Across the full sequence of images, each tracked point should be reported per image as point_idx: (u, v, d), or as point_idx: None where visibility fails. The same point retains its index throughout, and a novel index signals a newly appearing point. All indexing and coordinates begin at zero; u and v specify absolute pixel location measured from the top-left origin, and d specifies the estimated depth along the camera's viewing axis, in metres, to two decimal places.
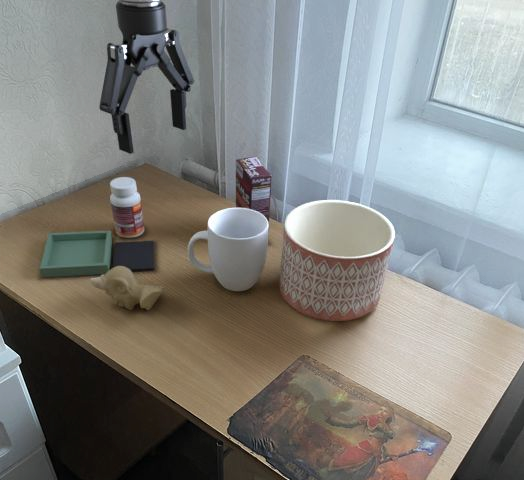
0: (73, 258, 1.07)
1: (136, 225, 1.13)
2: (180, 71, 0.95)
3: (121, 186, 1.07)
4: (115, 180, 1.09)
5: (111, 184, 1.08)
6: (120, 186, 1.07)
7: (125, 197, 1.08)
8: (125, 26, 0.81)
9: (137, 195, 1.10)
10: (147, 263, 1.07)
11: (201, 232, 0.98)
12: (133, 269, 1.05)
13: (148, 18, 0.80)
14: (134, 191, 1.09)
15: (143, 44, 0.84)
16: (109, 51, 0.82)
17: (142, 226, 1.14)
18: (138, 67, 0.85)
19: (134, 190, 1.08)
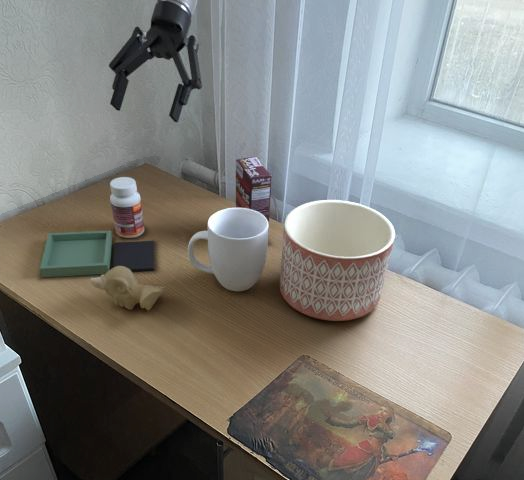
0: (73, 258, 1.07)
1: (136, 225, 1.13)
2: (123, 61, 1.10)
3: (121, 186, 1.07)
4: (115, 180, 1.09)
5: (111, 184, 1.08)
6: (120, 186, 1.07)
7: (125, 197, 1.08)
8: (186, 27, 1.07)
9: (137, 195, 1.10)
10: (147, 263, 1.07)
11: (201, 232, 0.98)
12: (133, 269, 1.05)
13: None
14: (134, 191, 1.08)
15: None
16: (194, 42, 1.05)
17: (142, 226, 1.14)
18: (180, 58, 1.09)
19: (134, 190, 1.08)
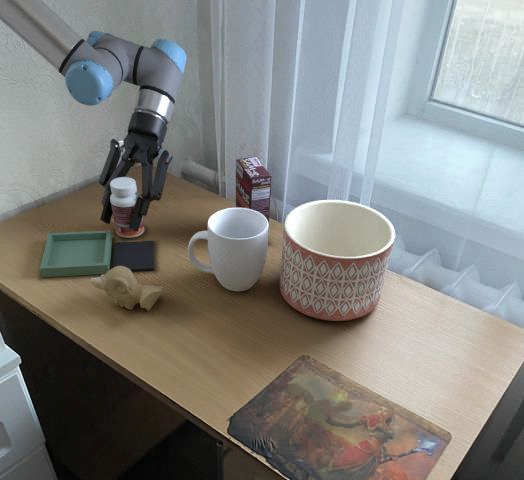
0: (73, 258, 1.07)
1: None
2: (110, 174, 1.12)
3: (121, 186, 1.07)
4: (115, 180, 1.09)
5: (111, 184, 1.08)
6: (120, 186, 1.07)
7: (125, 197, 1.08)
8: (162, 135, 1.10)
9: (137, 195, 1.10)
10: (147, 263, 1.07)
11: (201, 232, 0.98)
12: (133, 269, 1.05)
13: None
14: (134, 191, 1.09)
15: None
16: (167, 157, 1.09)
17: (142, 226, 1.14)
18: None
19: (134, 190, 1.08)
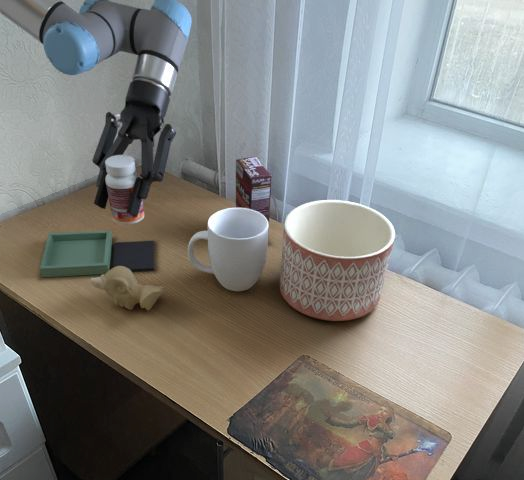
0: (73, 258, 1.07)
1: None
2: (105, 152, 0.99)
3: (118, 164, 0.94)
4: (111, 158, 0.96)
5: (106, 162, 0.95)
6: (116, 165, 0.94)
7: (122, 177, 0.95)
8: (165, 107, 0.97)
9: (136, 175, 0.97)
10: (147, 263, 1.07)
11: (201, 232, 0.98)
12: (133, 269, 1.05)
13: None
14: (133, 171, 0.95)
15: None
16: (169, 132, 0.96)
17: (142, 212, 1.01)
18: None
19: (133, 169, 0.95)
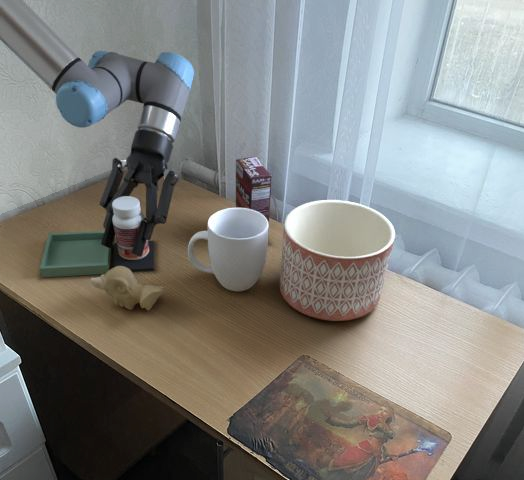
0: (73, 258, 1.07)
1: None
2: (112, 195, 1.06)
3: (124, 207, 1.00)
4: (117, 200, 1.02)
5: (113, 205, 1.00)
6: (123, 207, 1.00)
7: (129, 218, 1.01)
8: (168, 154, 1.03)
9: (141, 215, 1.03)
10: (147, 263, 1.07)
11: (201, 232, 0.98)
12: (133, 269, 1.05)
13: None
14: (138, 212, 1.01)
15: None
16: (172, 178, 1.02)
17: (147, 247, 1.07)
18: None
19: (138, 211, 1.01)
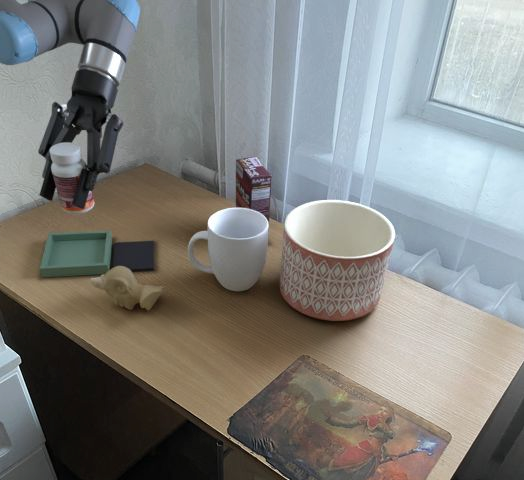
0: (73, 258, 1.07)
1: None
2: (52, 143, 0.98)
3: (62, 152, 0.92)
4: (56, 146, 0.94)
5: (51, 150, 0.92)
6: (61, 153, 0.92)
7: (68, 165, 0.93)
8: (112, 97, 0.95)
9: (82, 163, 0.95)
10: (147, 263, 1.07)
11: (201, 232, 0.98)
12: (133, 269, 1.05)
13: None
14: (78, 158, 0.94)
15: None
16: (116, 122, 0.94)
17: (91, 200, 1.00)
18: None
19: (78, 157, 0.93)
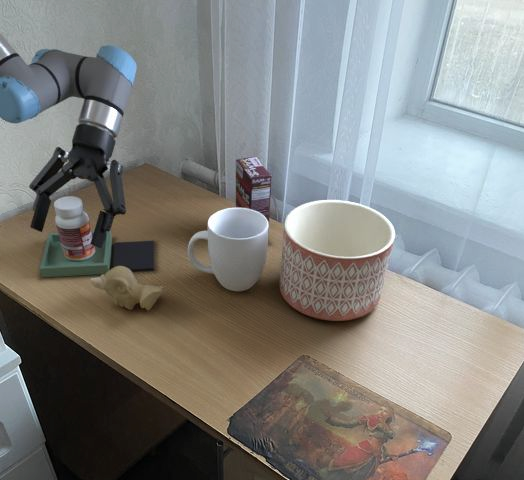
0: None
1: (85, 247, 1.05)
2: (44, 181, 1.05)
3: (66, 206, 0.99)
4: (60, 200, 1.01)
5: (55, 204, 1.00)
6: (64, 207, 0.99)
7: (71, 218, 1.01)
8: (110, 149, 1.02)
9: (84, 215, 1.02)
10: (147, 263, 1.07)
11: (201, 232, 0.98)
12: (133, 269, 1.05)
13: None
14: (80, 211, 1.01)
15: None
16: (117, 166, 1.00)
17: (92, 248, 1.07)
18: (104, 180, 1.03)
19: (80, 210, 1.01)
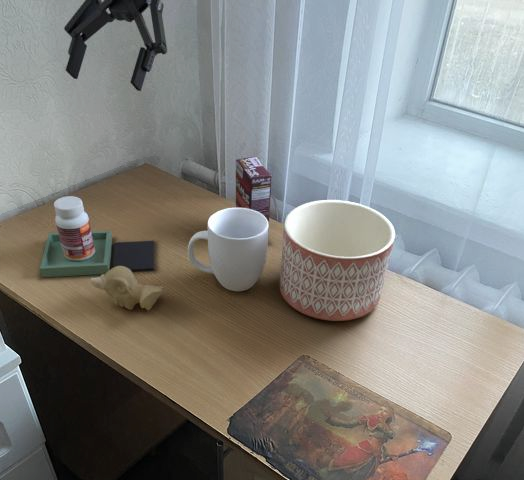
0: None
1: (85, 247, 1.05)
2: (80, 24, 0.99)
3: (66, 206, 0.99)
4: (60, 200, 1.01)
5: (55, 204, 1.00)
6: (64, 207, 0.99)
7: (71, 218, 1.01)
8: None
9: (84, 215, 1.02)
10: (147, 263, 1.07)
11: (201, 232, 0.98)
12: (133, 269, 1.05)
13: None
14: (80, 211, 1.01)
15: None
16: (158, 1, 0.95)
17: (92, 248, 1.07)
18: (143, 21, 0.98)
19: (80, 210, 1.01)
